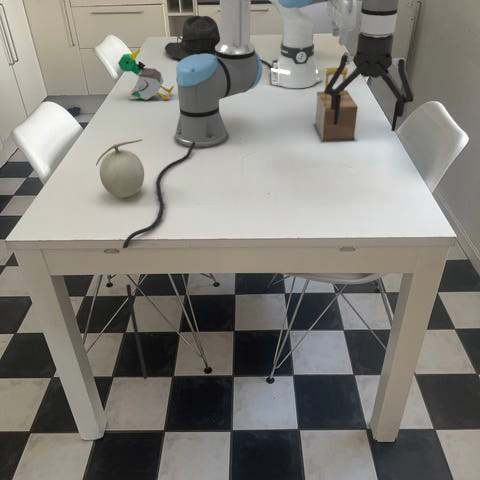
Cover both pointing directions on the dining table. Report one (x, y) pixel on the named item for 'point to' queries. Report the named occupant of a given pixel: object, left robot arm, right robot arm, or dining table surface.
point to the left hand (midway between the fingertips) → (364, 125)
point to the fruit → (121, 171)
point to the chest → (332, 131)
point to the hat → (195, 38)
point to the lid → (346, 99)
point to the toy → (143, 77)
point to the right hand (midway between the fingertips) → (338, 40)
